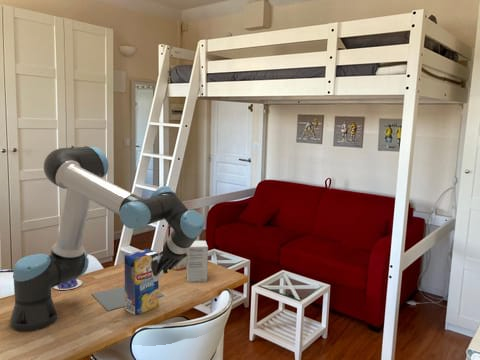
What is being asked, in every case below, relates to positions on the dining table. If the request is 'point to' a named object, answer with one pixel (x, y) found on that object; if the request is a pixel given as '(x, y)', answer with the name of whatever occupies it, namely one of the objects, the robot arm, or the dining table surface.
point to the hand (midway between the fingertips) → (154, 277)
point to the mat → (113, 298)
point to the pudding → (69, 284)
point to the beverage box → (140, 282)
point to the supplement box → (197, 261)
